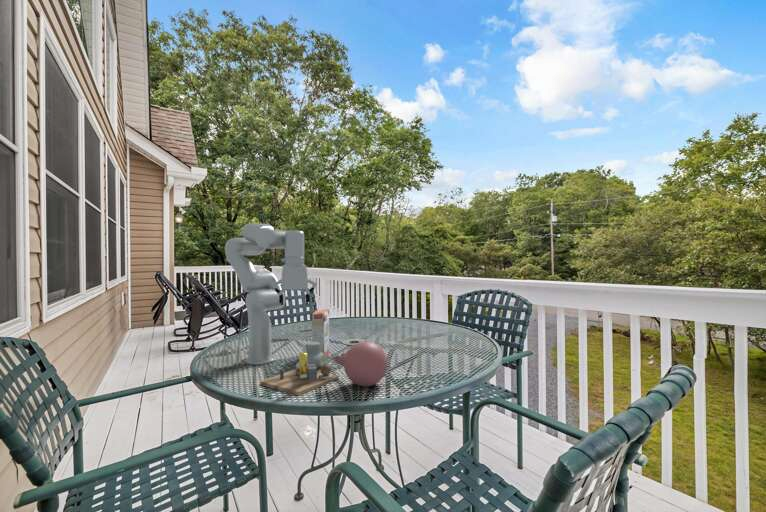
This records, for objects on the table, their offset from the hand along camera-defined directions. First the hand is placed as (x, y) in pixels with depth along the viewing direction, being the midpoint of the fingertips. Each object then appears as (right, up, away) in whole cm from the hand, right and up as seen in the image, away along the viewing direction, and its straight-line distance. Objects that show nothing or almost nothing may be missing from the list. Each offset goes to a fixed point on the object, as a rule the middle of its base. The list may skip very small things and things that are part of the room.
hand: (294, 304), depth 148 cm
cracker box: (+7, -27, +24) cm, 37 cm away
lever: (+6, -24, -11) cm, 27 cm away
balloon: (+27, -27, -15) cm, 41 cm away
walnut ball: (+14, -25, -9) cm, 30 cm away
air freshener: (+6, -27, +7) cm, 29 cm away
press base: (+5, -27, -11) cm, 30 cm away
